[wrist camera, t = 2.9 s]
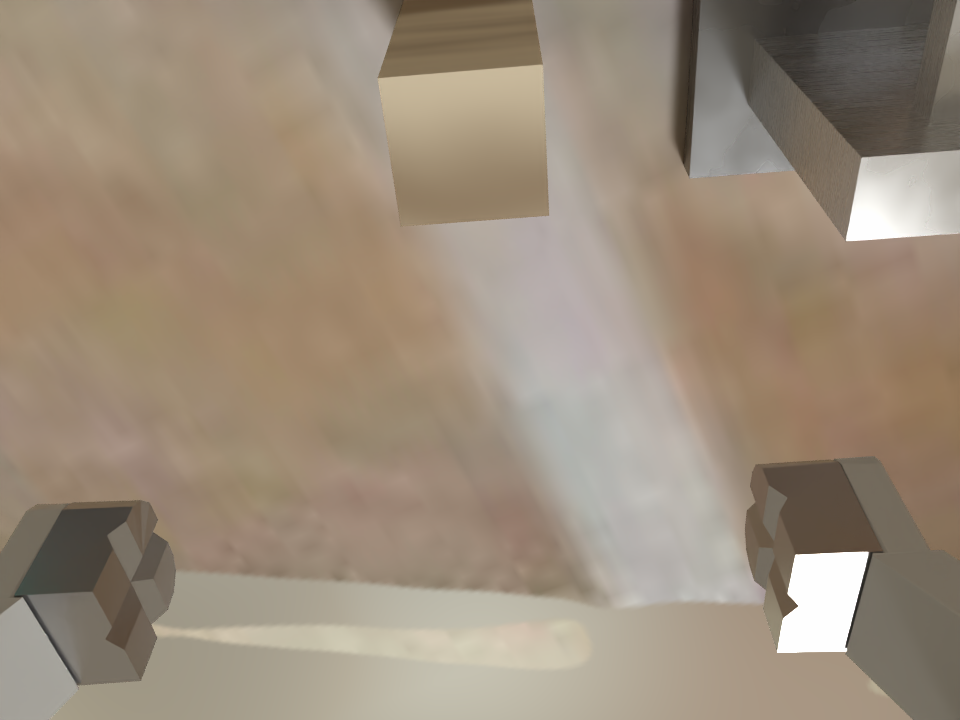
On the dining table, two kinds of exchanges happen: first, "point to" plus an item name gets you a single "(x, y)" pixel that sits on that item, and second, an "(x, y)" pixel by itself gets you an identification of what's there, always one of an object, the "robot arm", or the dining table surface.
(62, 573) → the robot arm
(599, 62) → the dining table surface
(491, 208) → the rail post
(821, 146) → the cup bracket
